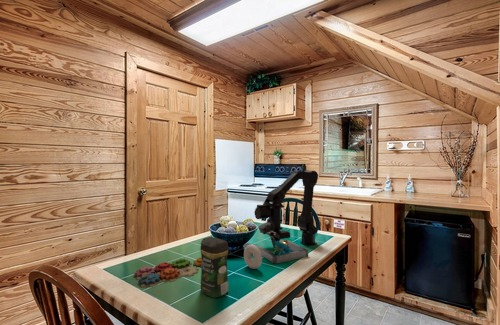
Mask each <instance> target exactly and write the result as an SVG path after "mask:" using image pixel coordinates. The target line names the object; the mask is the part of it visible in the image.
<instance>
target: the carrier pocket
mask: <svg viewBox="0 0 500 325" xmlns="http://www.w3.org/2000/svg"><path fill="white" fill-rule="evenodd" d="M290 241H291V240H289V241H286V243H287V248H290V249H291V250H292V251H293V252H289V253H285V252H283V253H282V254H279V253H278V254H279V255H278V254H276V255H275V254H273V252H270V251H269V250H267V249H265V248H263V247H262V246H260V245H259V246H257V247H258V248H259V250H260V252H261V255H262V258H265V259H266V260H268V261H269V262H270V263H273V265H275V264H281V263H285V262H289V261H293V260H297V259H302V258H307V257H309V250H308V249H307V248H305V247H303V246H301V245H298V244H296V243H295V242H292V241H291V242H290Z"/></svg>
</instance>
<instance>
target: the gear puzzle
mask: <svg viewBox="0 0 500 325" xmlns="http://www.w3.org/2000/svg"><path fill="white" fill-rule="evenodd" d="M192 262H193V263H192ZM192 262H191V261H190V260H188V259H186V258H179V259H176V261H172V263H169V262H161V263H159V264H158V265H155V266H154V267H153V266H149V265H148V266H142V267H140V268H139V269H137V270H136V271H135V272H134V273H133V274H134V276H135V277H136V280H137V281H138V283H140V286H141V288H147V287H149V288H152V287H153V288H154V287H156V286H157V285H158V284H161V283H166V282H170V283H172V282H176V281H177V280H178V279H181V278H185V277H188V278H190V277H194V276H195V275H196V274H199V270H200V269H199V268H198V267H202V257H201V256H200V257H198V258H196V259H195V260H193V261H192ZM192 265H193V266H192ZM194 266H196V267H195V268H194Z"/></svg>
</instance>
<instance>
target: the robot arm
mask: <svg viewBox="0 0 500 325" xmlns="http://www.w3.org/2000/svg"><path fill="white" fill-rule="evenodd" d="M292 171H293V172H292V173H291V174H290V175H289V176H288V177H287V178H286V179H285V180H284V181H283V182H282V183H281V184H280V185H279V186H277V187H276V188H274V189H272V190H270V191H269V192H268V193H267V196H266V199H264V201H263V203H262V204H257V205H256V207H255V209H254V212H253V213H254V216H255V218H256V220H261V219H264V220H265V219H266V222H264V223H262V224H260V225H258V229H259V233H261V234H262V235H267V236H268V237H270V241H271V243H272V247H273V249H275V248H276V247H275V241H279V242H280V241H281V240H284V239H290V238H291V232H290V231H288V230H286V229H283V227H282V226H281V222H283V219H282V217H281V216H282V215H281V212H282V210H281V209H283V208H285V206H284V205H283V203H282V202H283V201H284V199H285V198H286V194H287V192H289V191H290V190H291V189H292V188H293V186H294V185H295V184H296V183H298V182H299V181H300V180H301V182H302V184H303V198H302V200H303V201H302V208H301V214H300V215H297V220H296V223H297V226H298V228H299V231H300V232H301V240H300V243H301V244H302V245H305V246H314V245H317V244H318V243H317V242H316V240H315V239H316V234H318V231H319V230H318V228H317V227H316V226H315V222H314V217H313V214H312V209H313V197H314V189H315V188H314V187H315V186H316V185H317V183H318V178H319V173H318V172H317V171H316V170H309V169H308V170H307V169H306V170H292Z"/></svg>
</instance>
